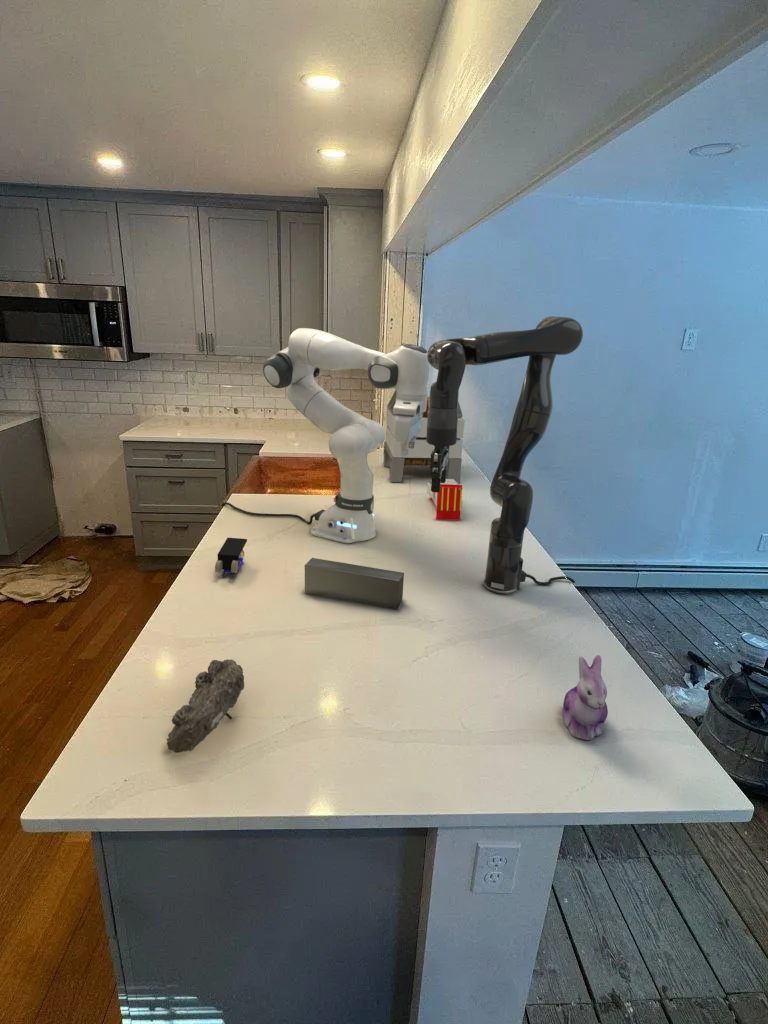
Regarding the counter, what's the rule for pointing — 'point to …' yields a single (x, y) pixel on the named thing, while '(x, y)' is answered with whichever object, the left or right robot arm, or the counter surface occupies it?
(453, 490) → the toy
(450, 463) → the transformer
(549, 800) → the counter surface
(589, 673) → the figurine
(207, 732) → the fossil
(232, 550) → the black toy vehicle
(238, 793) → the counter surface
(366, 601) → the bar
